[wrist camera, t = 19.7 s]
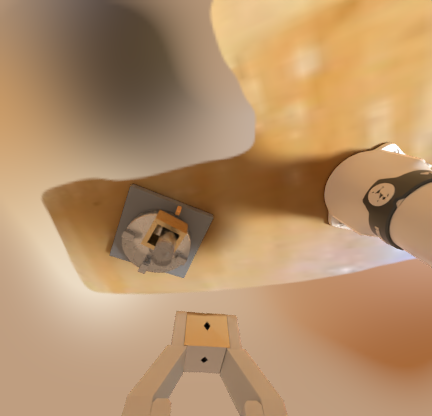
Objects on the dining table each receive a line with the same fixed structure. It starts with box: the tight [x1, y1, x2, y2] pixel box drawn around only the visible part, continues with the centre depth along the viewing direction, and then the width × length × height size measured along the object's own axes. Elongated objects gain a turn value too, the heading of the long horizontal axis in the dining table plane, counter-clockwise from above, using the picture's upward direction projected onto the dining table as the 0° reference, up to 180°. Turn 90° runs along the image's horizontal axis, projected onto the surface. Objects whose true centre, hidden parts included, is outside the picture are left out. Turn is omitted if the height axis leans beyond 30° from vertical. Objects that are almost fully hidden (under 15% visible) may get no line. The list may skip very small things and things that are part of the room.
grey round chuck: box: [121, 209, 191, 274], centre depth 38 cm, size 14×13×6 cm
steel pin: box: [151, 227, 178, 266], centre depth 33 cm, size 3×3×9 cm
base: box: [110, 184, 213, 278], centre depth 41 cm, size 17×17×4 cm
